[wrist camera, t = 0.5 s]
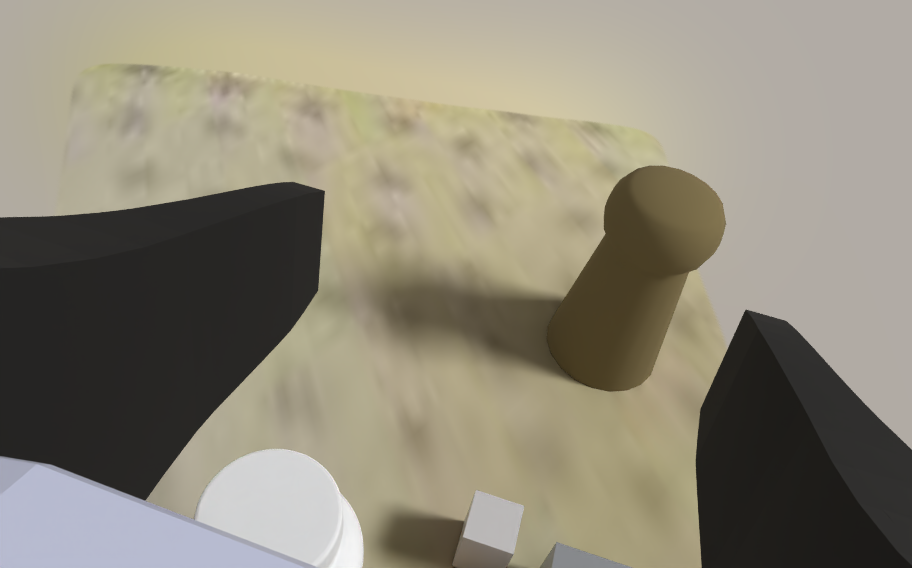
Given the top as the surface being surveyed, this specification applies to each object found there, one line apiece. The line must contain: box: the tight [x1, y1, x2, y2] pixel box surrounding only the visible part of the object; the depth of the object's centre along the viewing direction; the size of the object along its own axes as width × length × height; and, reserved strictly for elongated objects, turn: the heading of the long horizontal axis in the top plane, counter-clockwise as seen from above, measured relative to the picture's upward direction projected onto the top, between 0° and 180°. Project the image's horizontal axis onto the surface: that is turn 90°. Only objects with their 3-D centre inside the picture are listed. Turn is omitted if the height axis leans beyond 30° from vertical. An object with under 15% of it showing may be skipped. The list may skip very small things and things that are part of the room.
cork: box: [547, 166, 726, 391], centre depth 33 cm, size 6×6×11 cm
